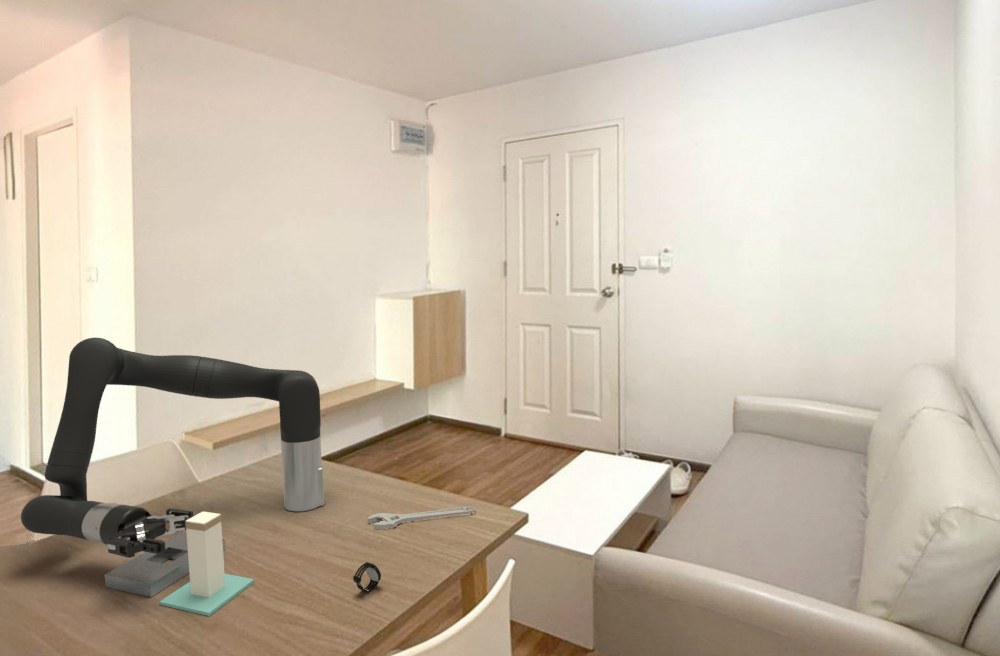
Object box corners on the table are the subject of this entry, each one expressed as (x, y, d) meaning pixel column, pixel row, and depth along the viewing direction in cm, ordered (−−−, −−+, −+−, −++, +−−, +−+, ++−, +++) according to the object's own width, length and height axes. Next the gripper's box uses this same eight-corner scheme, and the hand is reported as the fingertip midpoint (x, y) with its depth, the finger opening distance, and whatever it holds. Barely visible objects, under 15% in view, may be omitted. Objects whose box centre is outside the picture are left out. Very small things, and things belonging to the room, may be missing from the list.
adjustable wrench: (474, 511, 143) (474, 504, 142) (478, 523, 136) (478, 516, 136) (369, 520, 138) (369, 513, 137) (368, 533, 131) (368, 525, 131)
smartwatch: (383, 590, 108) (382, 565, 108) (356, 599, 105) (355, 573, 105) (375, 580, 112) (374, 555, 111) (349, 588, 109) (348, 563, 108)
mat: (207, 572, 114) (207, 570, 114) (254, 582, 111) (254, 579, 111) (159, 604, 104) (159, 601, 104) (209, 616, 101) (209, 612, 101)
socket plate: (183, 542, 127) (183, 531, 126) (225, 549, 123) (224, 538, 123) (105, 587, 110) (104, 574, 109) (151, 597, 106) (149, 584, 106)
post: (207, 582, 110) (202, 511, 108) (225, 585, 109) (221, 513, 107) (190, 594, 106) (185, 520, 104) (209, 597, 105) (204, 523, 103)
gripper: (78, 522, 105) (148, 535, 100) (147, 491, 119) (211, 501, 114) (82, 561, 106) (151, 576, 101) (150, 527, 120) (214, 538, 115)
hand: (183, 536), depth 108 cm, fingers open, 8 cm apart
